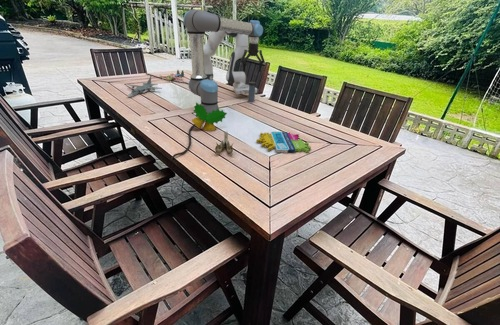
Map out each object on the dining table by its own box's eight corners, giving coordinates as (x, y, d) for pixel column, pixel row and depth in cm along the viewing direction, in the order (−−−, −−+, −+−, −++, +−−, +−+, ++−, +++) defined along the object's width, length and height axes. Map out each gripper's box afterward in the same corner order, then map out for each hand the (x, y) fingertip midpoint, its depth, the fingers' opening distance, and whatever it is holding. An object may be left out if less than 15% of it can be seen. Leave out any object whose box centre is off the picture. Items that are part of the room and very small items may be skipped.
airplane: (121, 87, 235) (119, 76, 230) (157, 85, 248) (156, 74, 243) (125, 100, 206) (123, 87, 201) (166, 97, 219) (165, 85, 214)
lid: (248, 85, 214) (248, 83, 213) (248, 83, 219) (248, 81, 218) (255, 85, 214) (255, 83, 213) (255, 84, 219) (255, 81, 218)
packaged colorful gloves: (313, 150, 142) (258, 149, 139) (312, 153, 143) (258, 152, 140) (301, 132, 164) (254, 130, 161) (301, 134, 165) (254, 133, 162)
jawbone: (234, 135, 144) (233, 125, 135) (233, 160, 138) (232, 151, 129) (217, 135, 144) (216, 125, 135) (216, 160, 138) (214, 150, 129)
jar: (248, 102, 221) (249, 83, 213) (248, 100, 225) (249, 82, 218) (254, 102, 221) (255, 83, 213) (254, 100, 226) (255, 82, 218)
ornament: (218, 133, 171) (224, 110, 169) (221, 134, 163) (227, 111, 161) (186, 125, 162) (192, 101, 160) (189, 126, 155) (195, 101, 153)
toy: (192, 71, 287) (179, 75, 261) (192, 77, 291) (180, 82, 265) (169, 68, 292) (154, 72, 266) (169, 75, 296) (155, 79, 270)
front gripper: (239, 43, 194) (238, 72, 204) (270, 44, 202) (267, 72, 213) (236, 42, 200) (235, 70, 210) (266, 43, 208) (264, 70, 219)
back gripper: (232, 86, 228) (238, 89, 217) (253, 85, 236) (260, 88, 226) (232, 93, 231) (238, 97, 220) (253, 92, 239) (260, 96, 229)
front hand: (251, 71), depth 212 cm, fingers open, 13 cm apart
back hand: (249, 93), depth 223 cm, fingers open, 8 cm apart
